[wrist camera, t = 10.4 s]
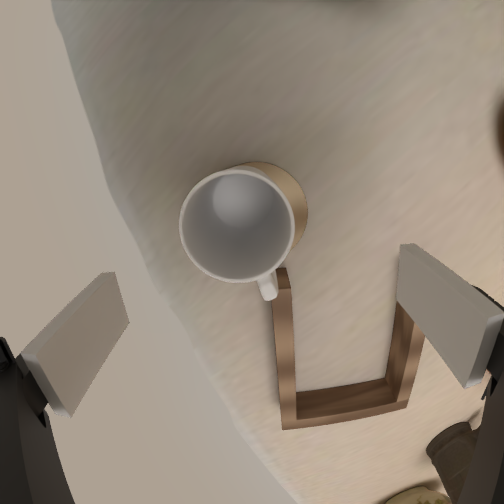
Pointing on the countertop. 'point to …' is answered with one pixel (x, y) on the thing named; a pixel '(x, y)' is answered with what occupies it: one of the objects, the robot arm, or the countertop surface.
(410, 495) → the pitcher
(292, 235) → the mug
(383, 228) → the countertop surface
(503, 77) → the countertop surface
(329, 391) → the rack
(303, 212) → the coaster
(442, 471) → the beer stein
